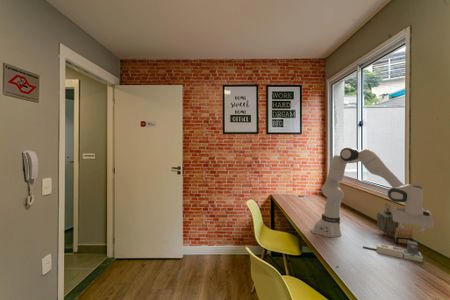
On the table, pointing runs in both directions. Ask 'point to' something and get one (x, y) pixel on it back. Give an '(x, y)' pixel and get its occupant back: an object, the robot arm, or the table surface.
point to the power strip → (388, 250)
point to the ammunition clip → (403, 236)
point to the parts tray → (410, 257)
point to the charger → (412, 248)
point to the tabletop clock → (386, 222)
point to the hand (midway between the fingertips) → (411, 231)
